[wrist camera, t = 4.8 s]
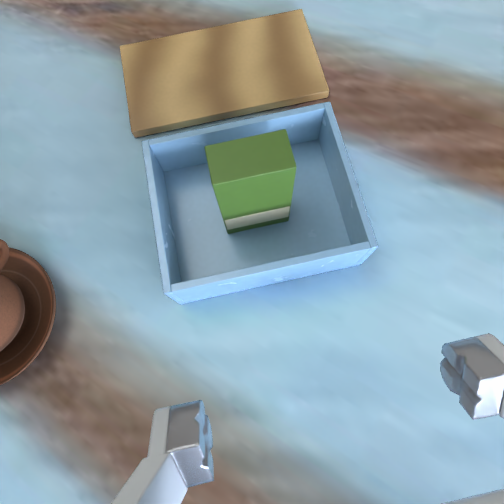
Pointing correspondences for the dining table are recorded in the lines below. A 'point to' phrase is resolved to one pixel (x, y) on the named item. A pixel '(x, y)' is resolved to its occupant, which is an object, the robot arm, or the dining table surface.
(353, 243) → the basin
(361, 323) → the dining table surface
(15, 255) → the cup and saucer
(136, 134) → the board
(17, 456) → the dining table surface
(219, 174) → the block
